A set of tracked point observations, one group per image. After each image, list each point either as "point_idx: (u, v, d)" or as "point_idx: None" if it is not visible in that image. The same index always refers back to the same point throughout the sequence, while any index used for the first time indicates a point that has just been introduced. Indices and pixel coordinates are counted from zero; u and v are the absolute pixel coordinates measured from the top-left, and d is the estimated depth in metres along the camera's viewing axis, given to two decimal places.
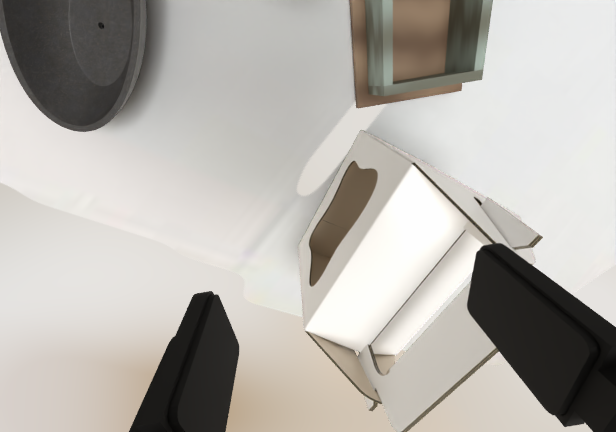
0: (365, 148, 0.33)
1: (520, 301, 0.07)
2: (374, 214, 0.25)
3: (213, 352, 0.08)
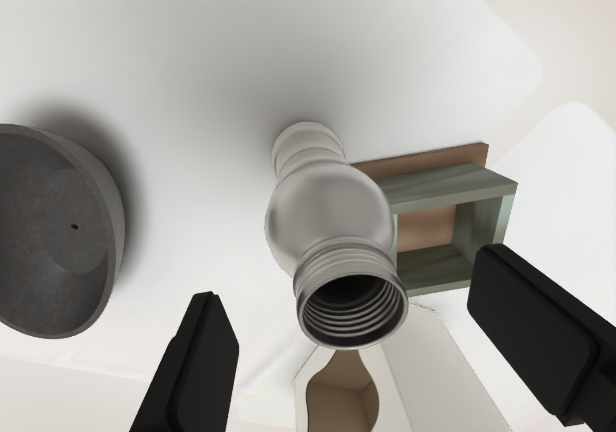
0: None
1: (520, 301, 0.07)
2: None
3: (213, 352, 0.08)
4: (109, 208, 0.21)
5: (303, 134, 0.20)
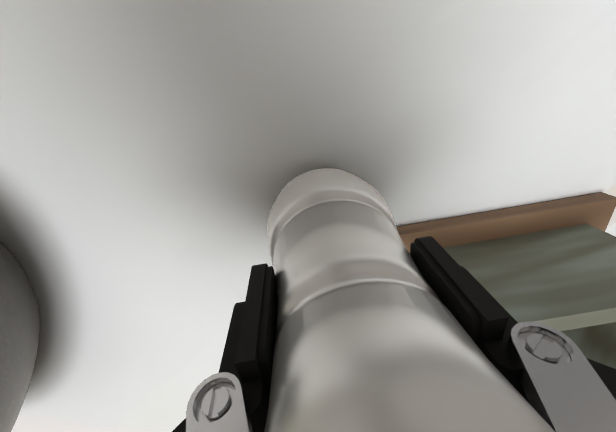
0: None
1: (436, 286, 0.08)
2: None
3: (275, 315, 0.09)
4: None
5: (327, 207, 0.10)
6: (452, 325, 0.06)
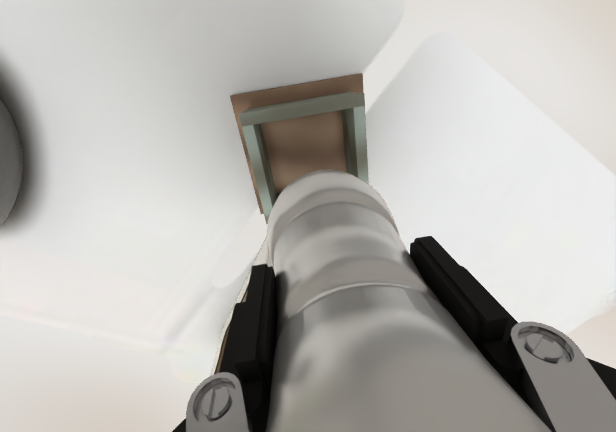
0: (261, 263, 0.31)
1: (436, 286, 0.08)
2: None
3: (275, 315, 0.09)
4: None
5: (328, 209, 0.10)
6: (452, 328, 0.06)
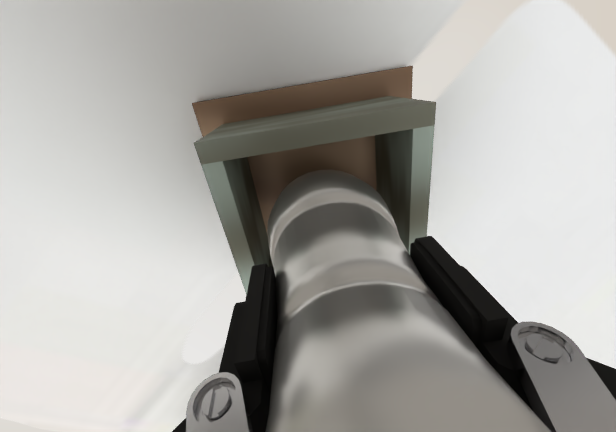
0: None
1: (436, 286, 0.08)
2: None
3: (275, 315, 0.09)
4: None
5: (328, 209, 0.10)
6: (452, 328, 0.06)
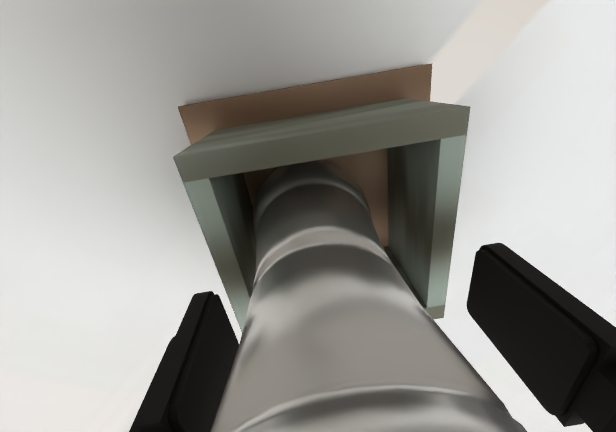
0: None
1: (520, 301, 0.07)
2: None
3: (214, 352, 0.08)
4: None
5: (305, 190, 0.11)
6: (395, 279, 0.07)
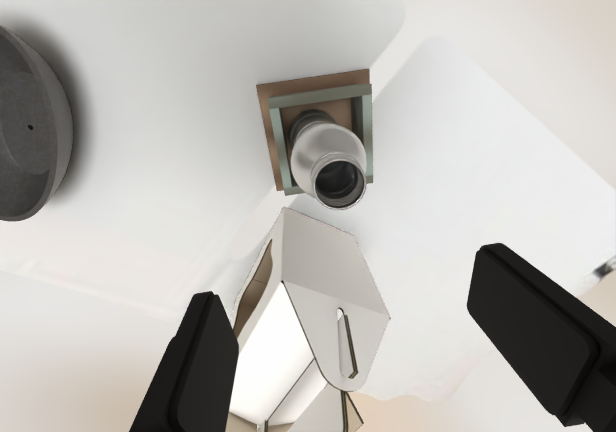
0: (277, 232, 0.36)
1: (520, 301, 0.07)
2: (258, 314, 0.28)
3: (213, 352, 0.08)
4: (49, 94, 0.27)
5: (313, 116, 0.29)
6: None
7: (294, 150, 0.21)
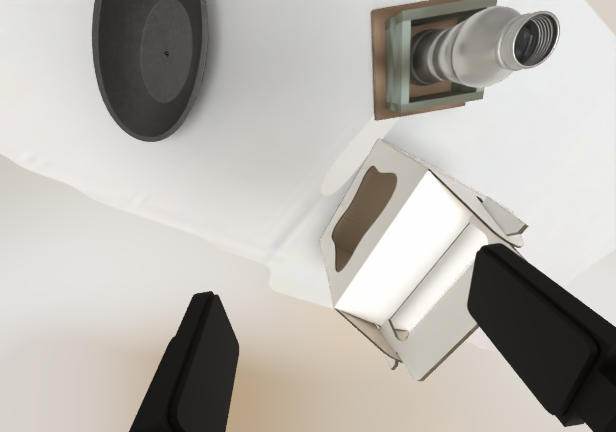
0: (383, 155, 0.39)
1: (520, 301, 0.07)
2: (396, 210, 0.31)
3: (213, 352, 0.08)
4: (206, 10, 0.29)
5: None
6: None
7: (464, 32, 0.23)
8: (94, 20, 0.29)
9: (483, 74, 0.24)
